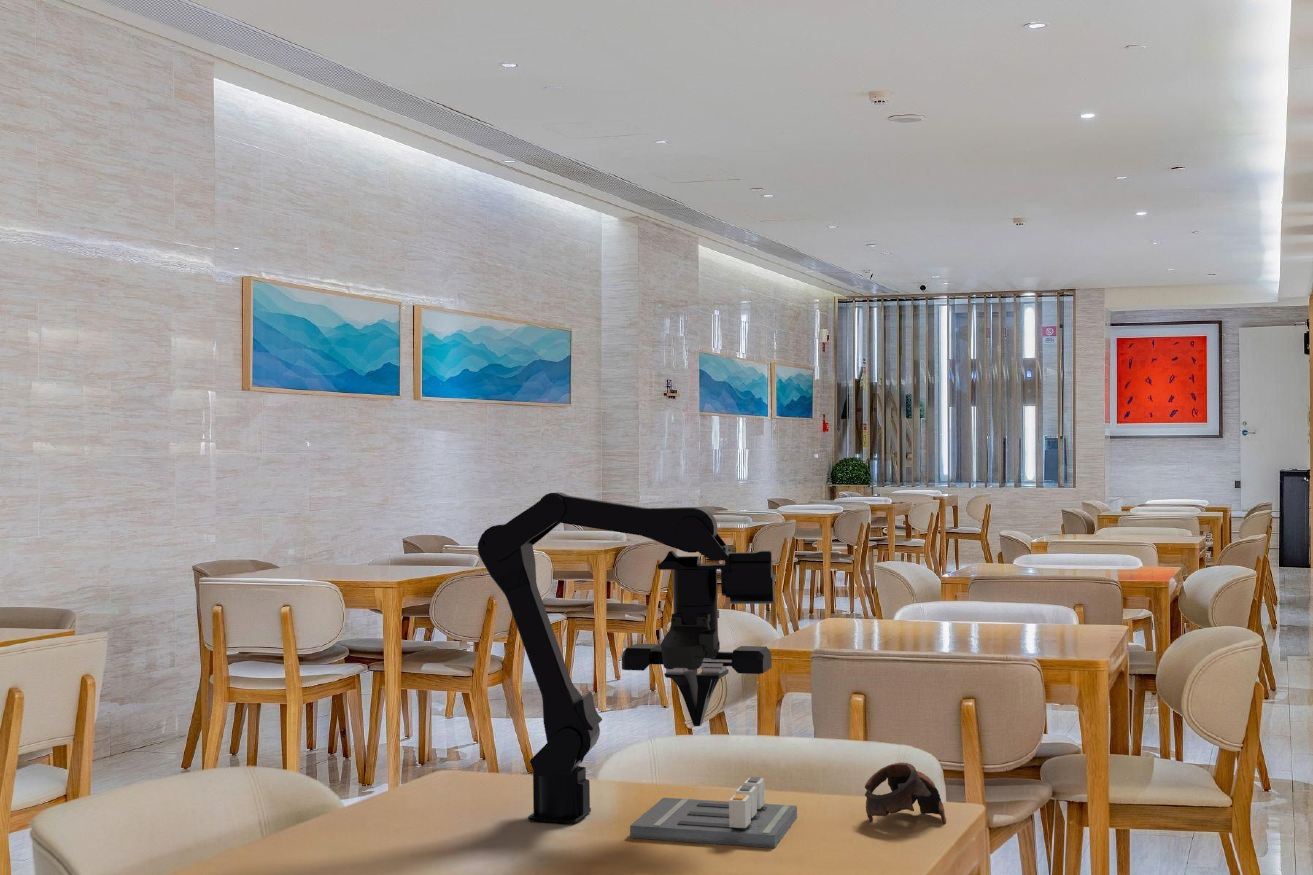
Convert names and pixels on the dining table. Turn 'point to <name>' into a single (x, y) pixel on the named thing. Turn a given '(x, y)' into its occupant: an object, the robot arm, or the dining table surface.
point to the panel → (712, 823)
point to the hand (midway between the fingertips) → (697, 725)
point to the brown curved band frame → (902, 792)
